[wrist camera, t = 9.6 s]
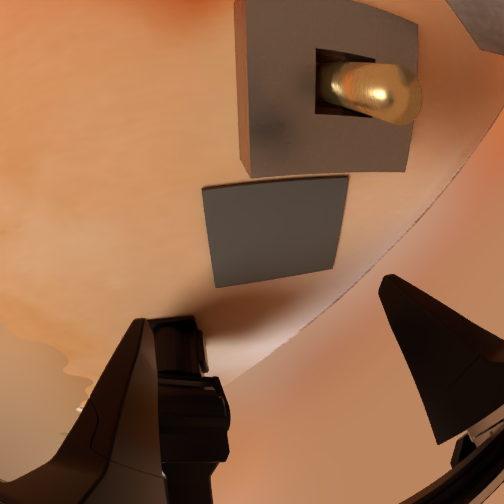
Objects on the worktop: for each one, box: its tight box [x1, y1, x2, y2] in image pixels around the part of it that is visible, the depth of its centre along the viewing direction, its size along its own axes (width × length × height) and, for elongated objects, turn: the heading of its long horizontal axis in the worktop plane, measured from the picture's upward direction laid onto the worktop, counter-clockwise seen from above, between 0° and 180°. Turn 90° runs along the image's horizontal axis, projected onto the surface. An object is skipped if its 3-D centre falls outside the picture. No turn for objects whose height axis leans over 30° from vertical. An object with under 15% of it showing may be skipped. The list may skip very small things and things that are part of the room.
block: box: [234, 0, 418, 178], centre depth 15 cm, size 12×12×4 cm
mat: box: [202, 176, 348, 288], centre depth 23 cm, size 12×10×1 cm
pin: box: [315, 62, 422, 126], centre depth 13 cm, size 3×3×9 cm
